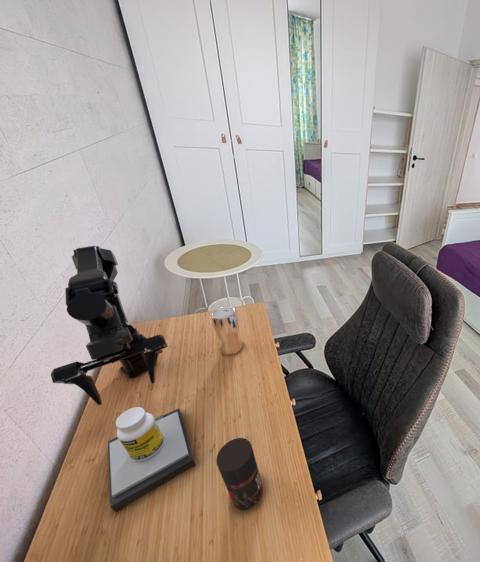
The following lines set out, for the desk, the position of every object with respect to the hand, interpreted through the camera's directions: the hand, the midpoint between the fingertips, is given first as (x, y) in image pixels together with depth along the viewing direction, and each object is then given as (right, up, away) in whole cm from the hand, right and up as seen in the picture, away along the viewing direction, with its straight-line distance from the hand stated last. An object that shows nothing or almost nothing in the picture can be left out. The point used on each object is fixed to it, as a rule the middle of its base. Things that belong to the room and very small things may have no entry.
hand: (127, 393), depth 62 cm
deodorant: (+28, -20, -3) cm, 34 cm away
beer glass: (+7, +2, +32) cm, 33 cm away
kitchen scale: (+4, -15, +2) cm, 16 cm away
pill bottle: (+4, -12, +1) cm, 13 cm away
